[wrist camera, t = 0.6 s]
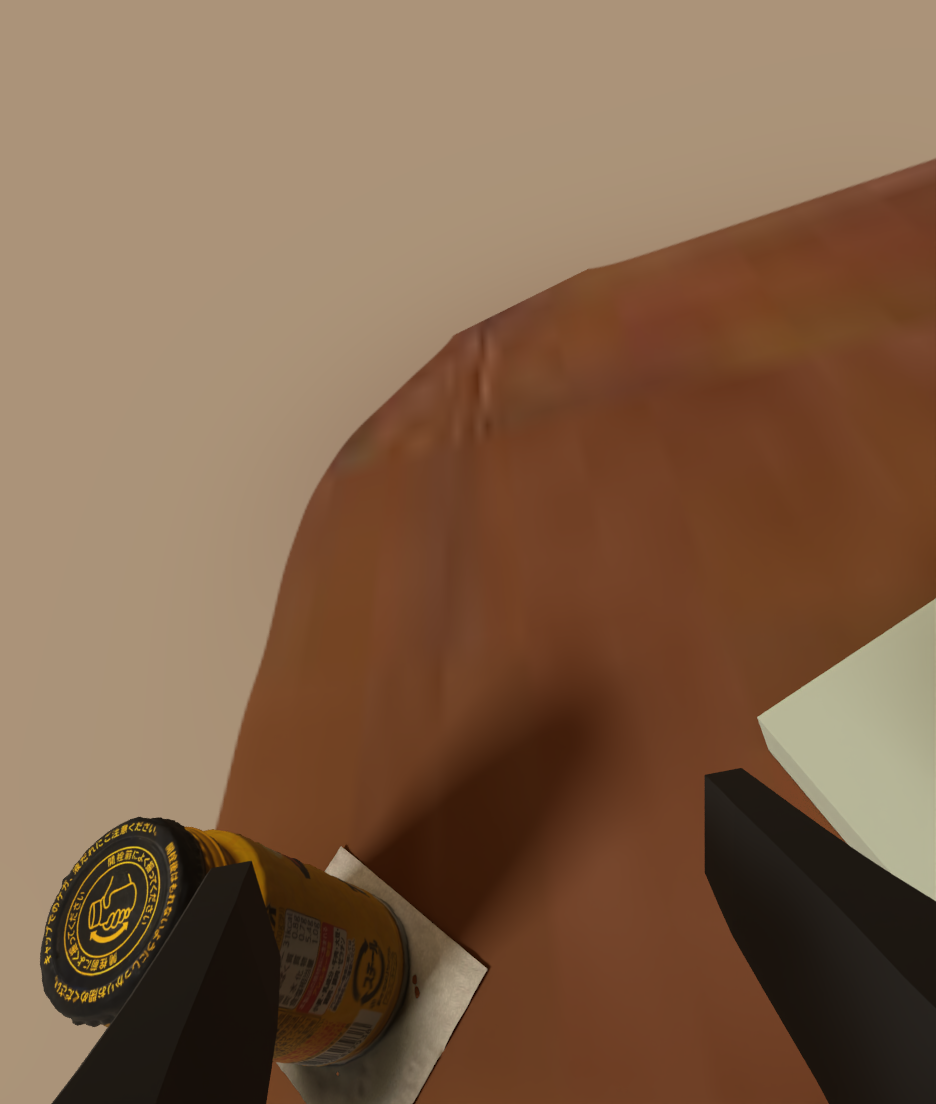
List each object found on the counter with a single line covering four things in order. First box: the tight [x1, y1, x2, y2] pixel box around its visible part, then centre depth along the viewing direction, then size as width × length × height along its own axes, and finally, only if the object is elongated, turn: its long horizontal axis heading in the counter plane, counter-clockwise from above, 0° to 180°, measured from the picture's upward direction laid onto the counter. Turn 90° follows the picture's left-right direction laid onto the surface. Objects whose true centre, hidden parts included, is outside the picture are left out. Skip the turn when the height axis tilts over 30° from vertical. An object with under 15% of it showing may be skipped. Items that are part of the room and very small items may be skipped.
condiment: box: [40, 817, 487, 1104], centre depth 24 cm, size 7×8×12 cm
